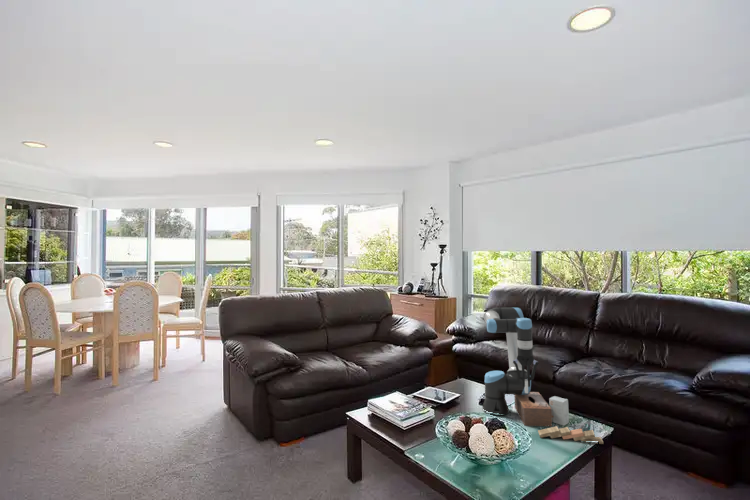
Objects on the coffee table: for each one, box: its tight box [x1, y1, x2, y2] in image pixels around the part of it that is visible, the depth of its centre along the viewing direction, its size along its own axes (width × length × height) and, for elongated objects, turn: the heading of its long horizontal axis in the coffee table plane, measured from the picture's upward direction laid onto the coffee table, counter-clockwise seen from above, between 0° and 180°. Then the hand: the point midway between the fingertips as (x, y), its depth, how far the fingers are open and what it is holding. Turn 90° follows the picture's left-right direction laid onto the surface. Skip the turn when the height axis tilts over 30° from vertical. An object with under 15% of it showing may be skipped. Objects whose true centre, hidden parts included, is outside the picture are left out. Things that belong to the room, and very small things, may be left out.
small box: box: [548, 395, 570, 427], centre depth 221 cm, size 8×6×13 cm
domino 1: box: [537, 425, 560, 439], centre depth 204 cm, size 2×5×10 cm
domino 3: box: [572, 429, 596, 442], centre depth 199 cm, size 2×5×10 cm
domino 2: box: [549, 426, 571, 440], centre depth 203 cm, size 2×5×10 cm
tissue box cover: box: [513, 391, 553, 427], centre depth 229 cm, size 26×14×10 cm, turn 172°
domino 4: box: [580, 436, 604, 445], centre depth 199 cm, size 2×5×10 cm
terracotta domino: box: [561, 428, 584, 440], centre depth 201 cm, size 2×5×10 cm
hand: (526, 392), depth 208 cm, fingers closed
